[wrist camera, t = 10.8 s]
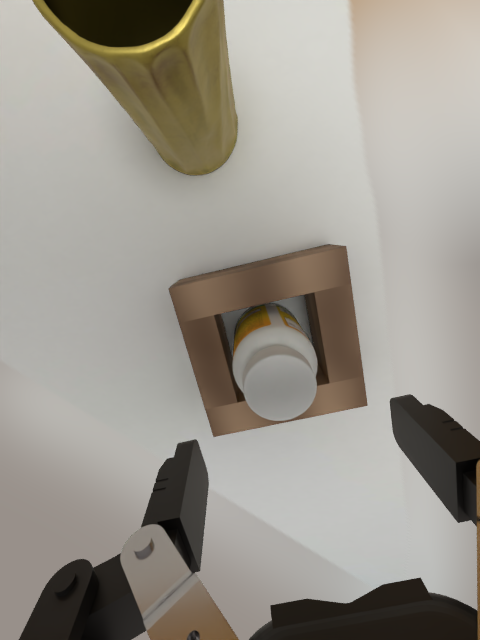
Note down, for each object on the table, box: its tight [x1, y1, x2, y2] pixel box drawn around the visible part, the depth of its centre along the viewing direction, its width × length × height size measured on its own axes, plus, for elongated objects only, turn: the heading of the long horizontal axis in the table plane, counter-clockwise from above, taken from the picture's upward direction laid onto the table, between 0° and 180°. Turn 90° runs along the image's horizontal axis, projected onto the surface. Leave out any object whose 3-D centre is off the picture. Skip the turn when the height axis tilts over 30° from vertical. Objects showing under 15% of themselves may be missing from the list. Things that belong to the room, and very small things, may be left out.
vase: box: [32, 0, 237, 175], centre depth 14 cm, size 6×6×14 cm
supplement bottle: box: [232, 303, 318, 421], centre depth 21 cm, size 5×5×10 cm
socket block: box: [169, 244, 368, 437], centre depth 23 cm, size 12×12×4 cm
